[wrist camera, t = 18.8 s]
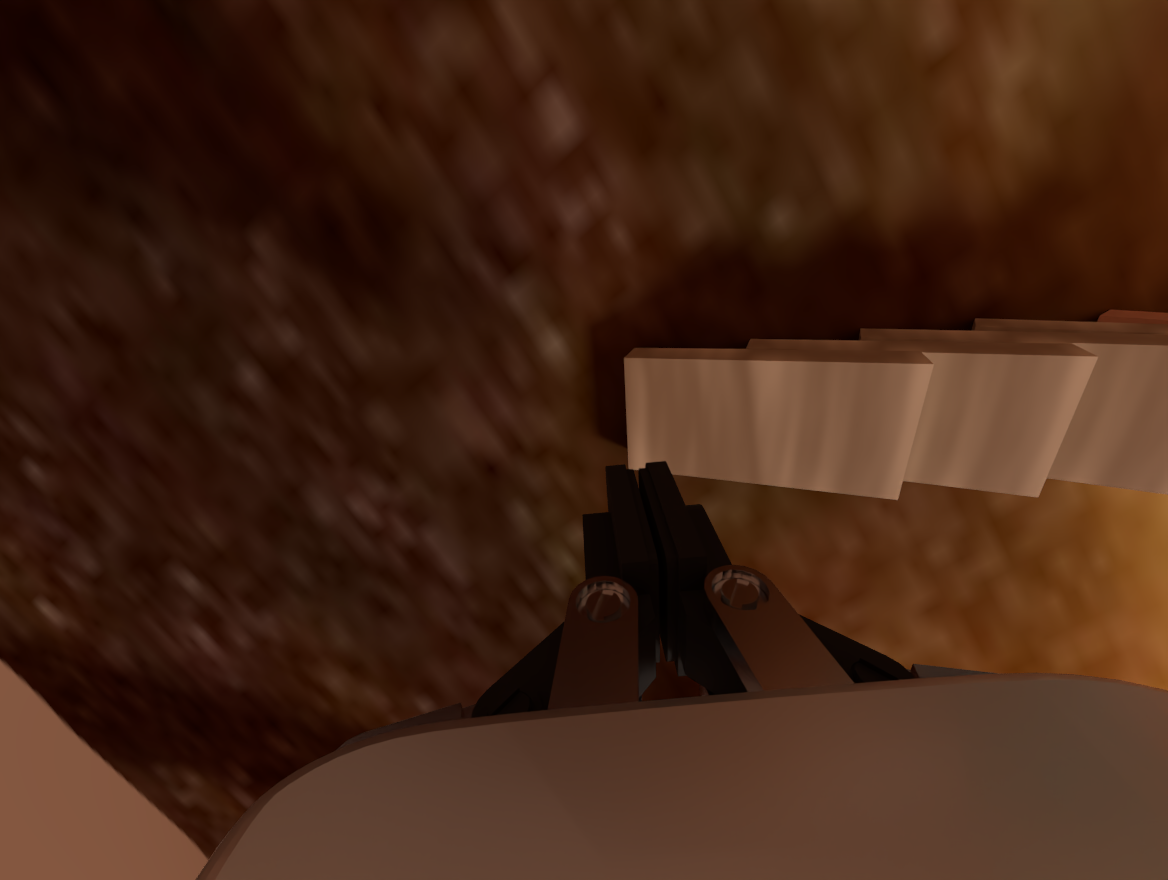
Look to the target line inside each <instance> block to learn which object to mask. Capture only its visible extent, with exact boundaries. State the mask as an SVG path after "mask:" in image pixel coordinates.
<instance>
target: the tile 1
mask: <svg viewBox="0 0 1168 880" xmlns="http://www.w3.org/2000/svg"><path fill="white" fill-rule="evenodd" d="M933 366H934V364H933V363H932V362H931V361H930V360H929V359H928V358H927V357H926V356H925V355H924V354H922V353H921V352H920V351H880V350H790V349H701V348H634V349H633V350H632V351H631V352H630V353H629V354H628V355H627V356H625V357H624V371H625V395H626V418H627V442H628V465H629V469H633V470H639V468H645V464H646V463H648V462H660V461H666V462H667V464H668V467H669V469H670V471H671V473H672V474H676V475H685V476H693V477H702V478H711V479H719V480H728V481H737V482H746V483H754V484H763V485H772V486H781V487H789V488H798V489H807V490H816V491H824V492H833V493H842V494H850V495H859V496H868V497H877V498H885V499H894V500H898V497H899V493H900V489H901V486H902V482H903V478H904V474H905V471H906V467H907V463H908V459H909V456H910V452H911V448H912V445H913V441H914V437H915V433H916V430H917V426H918V422H919V418H920V415H921V411H922V407H923V403H924V400H925V396H926V392H927V389H928V385H929V381H930V377H931V374H932V370H933Z"/></svg>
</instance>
